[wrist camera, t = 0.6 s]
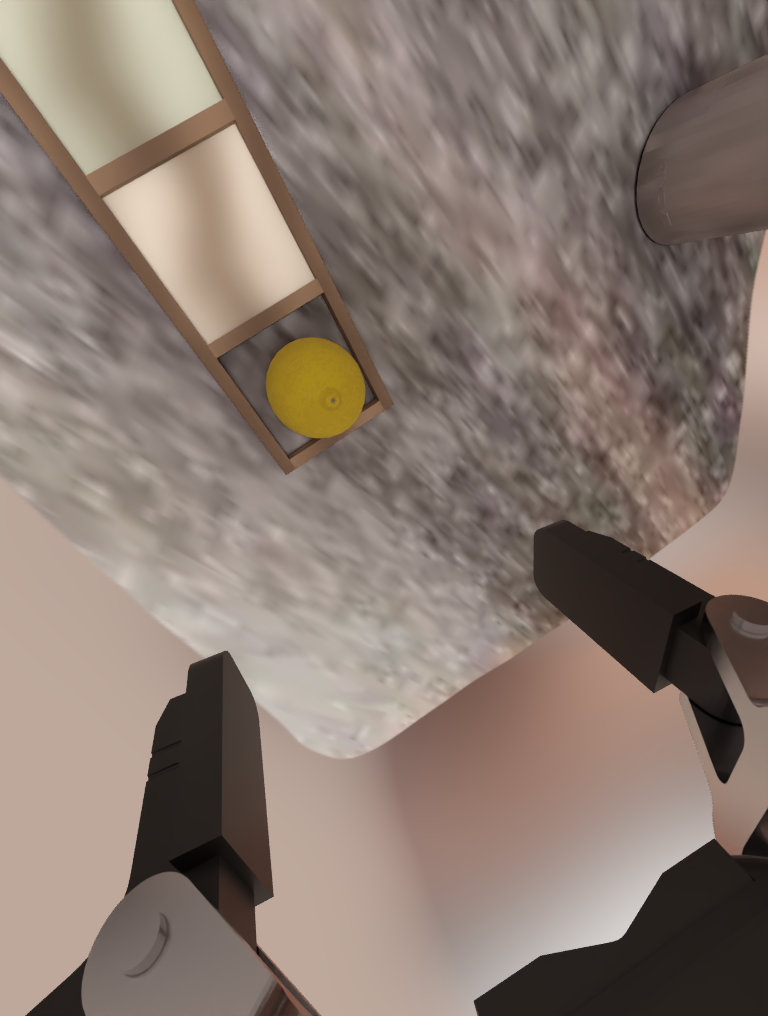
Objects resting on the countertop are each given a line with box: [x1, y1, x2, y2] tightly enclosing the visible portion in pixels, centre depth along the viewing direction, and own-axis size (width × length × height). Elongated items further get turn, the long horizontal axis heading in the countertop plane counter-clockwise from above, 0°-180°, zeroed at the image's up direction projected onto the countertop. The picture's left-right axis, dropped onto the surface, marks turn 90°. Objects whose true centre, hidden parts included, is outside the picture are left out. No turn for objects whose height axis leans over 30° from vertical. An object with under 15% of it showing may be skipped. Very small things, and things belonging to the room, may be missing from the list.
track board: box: [0, 0, 394, 475], centre depth 21 cm, size 9×26×1 cm, turn 28°
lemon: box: [266, 337, 365, 438], centre depth 23 cm, size 6×6×8 cm
